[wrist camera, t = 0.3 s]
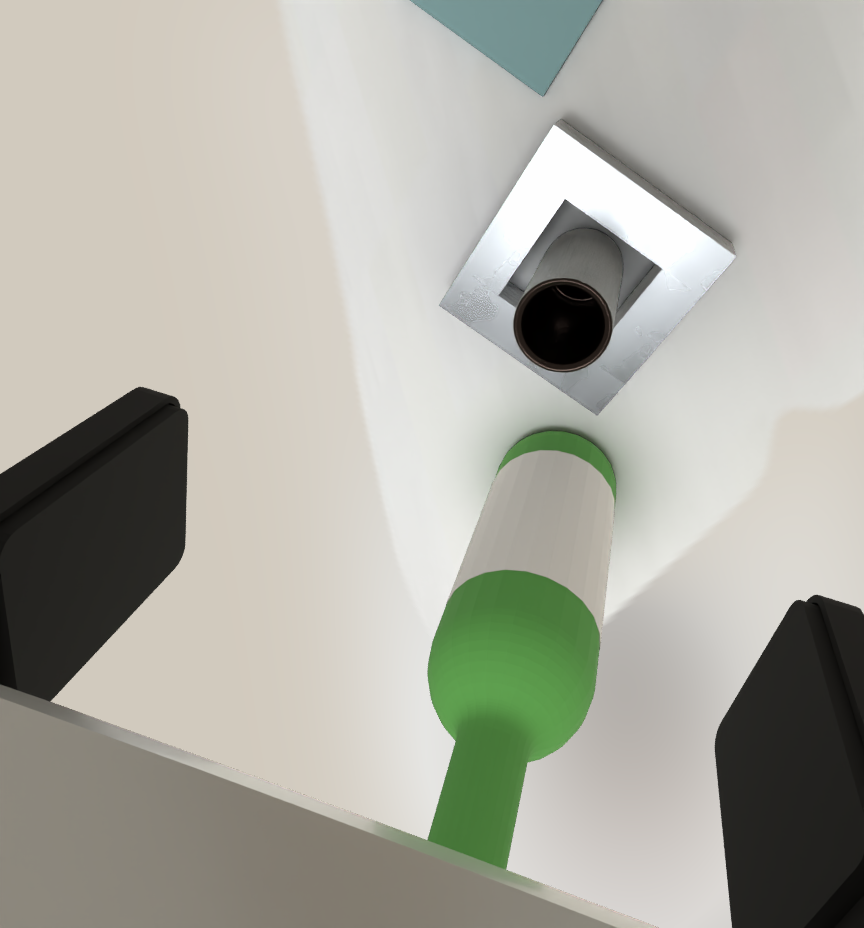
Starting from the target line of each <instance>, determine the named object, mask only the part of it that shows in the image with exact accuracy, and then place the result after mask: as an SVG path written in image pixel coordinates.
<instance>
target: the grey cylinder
mask: <svg viewBox="0 0 864 928" xmlns="http://www.w3.org/2000/svg"><path fill="white" fill-rule="evenodd" d="M622 276H623V261H622V256H621V253H620V251H619V249H618V247H617V245H616V244H615V242H614V241H613V240H612V239H611V238H610V237H608V236H607V235H606V234H604V233H602V232H600V231H597V230H594V229H588V228H580V229H574V230H571V231H568V232H566V233H564V234H563V235H561V236H560V237H558V238H557V239H556V240H555V241H554V242H553V243H552V244H551V246H550V247H549V248H548V250H547V251H546V253H545V255H544V257H543V259H542V260H541V262H540V264H539V266H538V268H537V270H536V271H535V273H534V275H533V277H532V279H531V281H530V282H529V284H528V286H527V288H526V290H525V291H524V293H523V295H522V297H521V299H520V301H519V303H518V305H517V307H516V310H515V313H514V318H513V332H514V336H515V340H516V342H517V344H518V346H519V348H520V350H521V351H522V353H523V354H524V355H525V356H526V357H527V358H528V359H529V360H530V361H531V362H532V363H534V364H535V365H537V366H539V367H541V368H543V369H545V370H548V371H552V372H559V373H568V372H574V371H578V370H581V369H584V368H586V367H588V366H590V365H591V364H593V363H594V362H595V361H597V360H598V359H599V358H600V357H601V356H602V355H603V353H604V352H605V350H606V349H607V347H608V345H609V343H610V341H611V337H612V333H613V328H614V322H615V317H616V311H617V305H618V299H619V293H620V288H621V282H622Z"/></svg>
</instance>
